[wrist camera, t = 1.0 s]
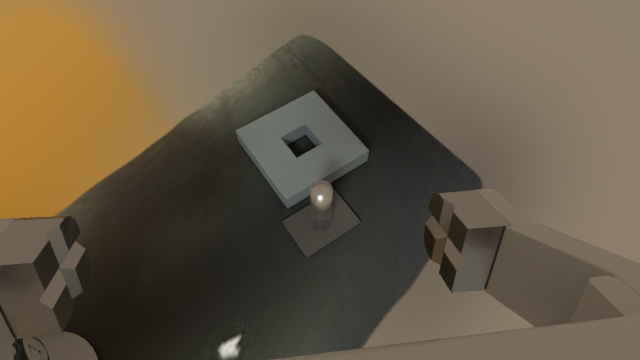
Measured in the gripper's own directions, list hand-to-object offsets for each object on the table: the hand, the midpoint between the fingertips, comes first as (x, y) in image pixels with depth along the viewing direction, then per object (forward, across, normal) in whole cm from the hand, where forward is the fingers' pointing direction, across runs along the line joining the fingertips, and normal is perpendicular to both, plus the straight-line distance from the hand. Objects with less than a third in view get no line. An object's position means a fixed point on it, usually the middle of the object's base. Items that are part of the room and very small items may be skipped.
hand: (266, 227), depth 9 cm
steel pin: (+42, +9, -30) cm, 52 cm away
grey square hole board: (+54, +8, -23) cm, 59 cm away
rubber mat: (+42, +9, -30) cm, 52 cm away
